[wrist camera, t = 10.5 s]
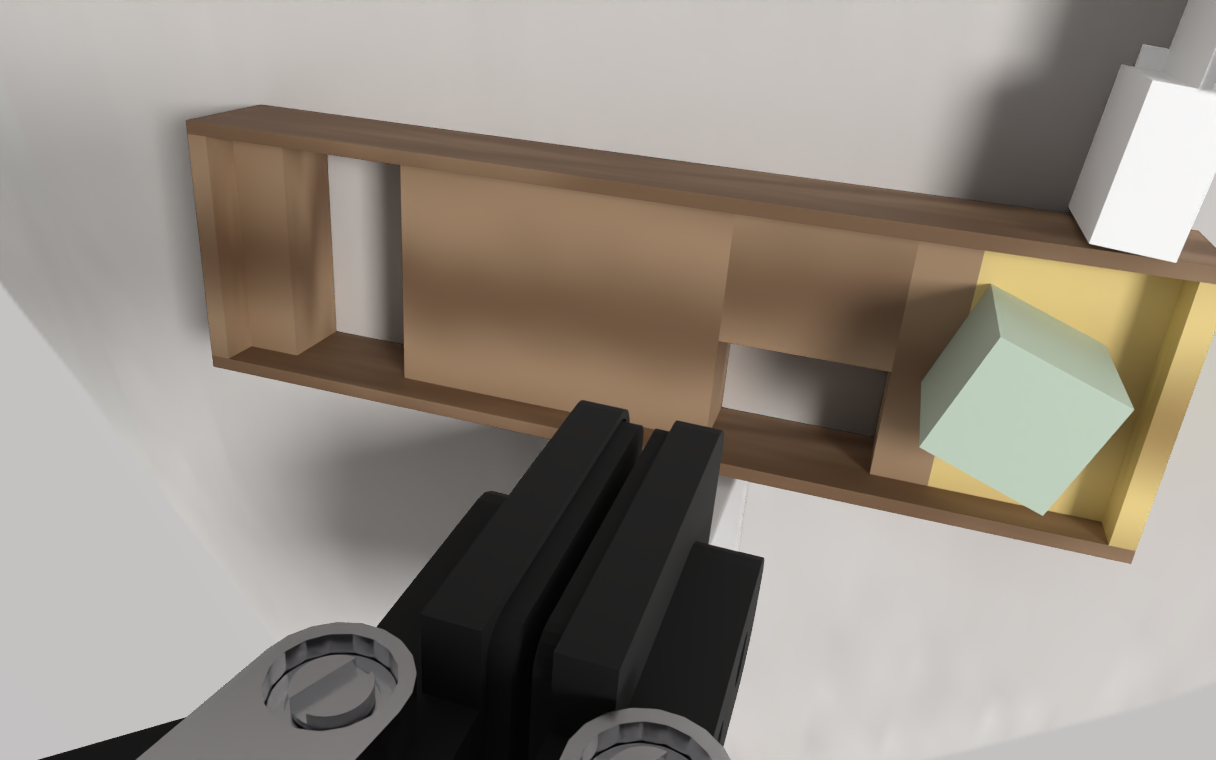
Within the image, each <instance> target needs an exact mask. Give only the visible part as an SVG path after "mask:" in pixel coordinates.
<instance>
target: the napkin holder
mask: <svg viewBox="0 0 1216 760" xmlns="http://www.w3.org/2000/svg"><path fill="white" fill-rule="evenodd" d="M1215 173H1216V0H1188V2H1187V5H1186V7H1185V10H1184V13H1183V15H1182V18H1181V20H1180V23H1179V25H1178V28H1177V30H1176V33H1175V36H1174V38H1173V41H1172V43H1171V46H1170V48H1169V49H1168V48H1162V47H1157V46H1151V45H1146V44H1143V45H1142V48H1141V50H1140V53H1139V55H1138V58H1137V61H1136V63H1135V66H1129V65H1124V64H1121V66H1120V69H1119V72H1118V74H1117V77H1116V80H1115V82H1114V85H1113V88H1112V90H1111V93H1110V96H1109V98H1108V101H1107V104H1106V107H1105V109H1104V112H1103V115H1102V117H1101V120H1100V123H1099V125H1098V128H1097V131H1096V133H1095V136H1094V139H1093V141H1092V144H1091V147H1090V149H1089V152H1088V155H1087V157H1086V160H1085V163H1084V165H1083V168H1082V171H1081V173H1080V176H1079V179H1078V181H1077V184H1076V187H1075V190H1074V192H1073V195H1072V198H1071V200H1070V203H1069V206H1068V207H1069V209H1070V211H1071V212H1072V214H1073V216H1074V218H1075V219H1076V221H1077V223H1078V225H1079V227H1080V228H1081V230H1082V232H1083V234H1084V236H1085V237H1086V239H1087V241H1088V243H1089V244H1093V245H1097V246H1102V247H1106V248H1111V249H1115V250H1120V251H1124V252H1129V253H1133V254H1138V255H1142V256H1147V257H1151V258H1156V259H1160V260H1165V261H1169V262H1174V263H1176V262H1177V260H1178V258H1179V255H1180V253H1181V251H1182V248H1183V246H1184V244H1185V242H1186V239H1187V237H1188V235H1189V232H1190V230H1191V228H1192V226H1193V223H1194V221H1195V219H1196V216H1197V214H1198V212H1199V209H1200V207H1201V205H1202V203H1203V200H1204V198H1205V196H1206V193H1207V191H1208V189H1209V186H1210V184H1211V182H1212V180H1213V177H1214V175H1215Z"/></svg>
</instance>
